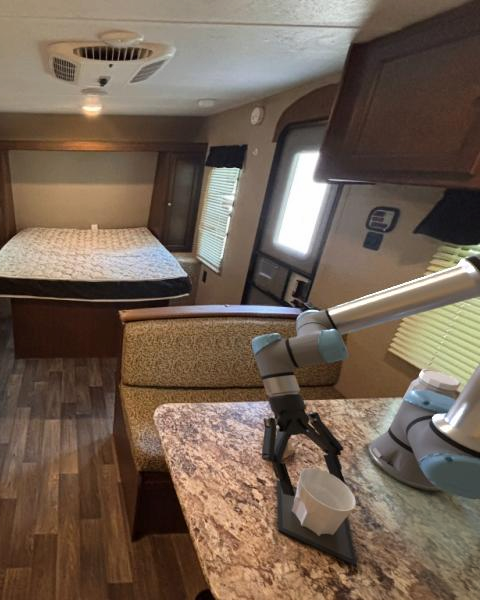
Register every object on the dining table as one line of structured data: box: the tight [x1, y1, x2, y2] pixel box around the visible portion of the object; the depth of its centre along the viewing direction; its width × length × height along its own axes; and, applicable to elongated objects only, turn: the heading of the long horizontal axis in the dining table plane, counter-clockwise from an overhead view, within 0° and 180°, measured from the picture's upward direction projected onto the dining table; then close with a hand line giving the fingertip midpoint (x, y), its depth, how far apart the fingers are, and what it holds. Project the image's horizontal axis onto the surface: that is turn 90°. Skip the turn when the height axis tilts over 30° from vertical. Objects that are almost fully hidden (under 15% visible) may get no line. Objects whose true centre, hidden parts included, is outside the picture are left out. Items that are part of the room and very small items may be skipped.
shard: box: [261, 433, 296, 466], centre depth 91 cm, size 11×8×2 cm
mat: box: [276, 479, 358, 568], centre depth 73 cm, size 14×14×1 cm
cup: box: [292, 467, 357, 536], centre depth 71 cm, size 10×10×10 cm
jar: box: [395, 368, 462, 413], centre depth 99 cm, size 10×10×18 cm
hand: (315, 490), depth 72 cm, fingers open, 13 cm apart
